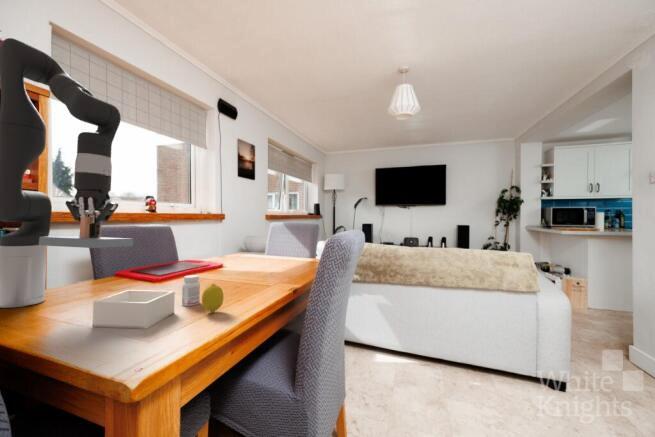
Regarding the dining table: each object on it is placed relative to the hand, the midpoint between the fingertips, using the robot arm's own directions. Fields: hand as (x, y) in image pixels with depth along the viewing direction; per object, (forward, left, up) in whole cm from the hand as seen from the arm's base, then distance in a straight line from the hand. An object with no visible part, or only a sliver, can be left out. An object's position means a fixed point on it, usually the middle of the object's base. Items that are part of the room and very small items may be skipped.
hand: (90, 237), depth 74 cm
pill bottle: (+22, +11, -21) cm, 32 cm away
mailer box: (+15, -3, -20) cm, 26 cm away
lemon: (+32, +4, -21) cm, 38 cm away
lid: (0, 0, -2) cm, 2 cm away
